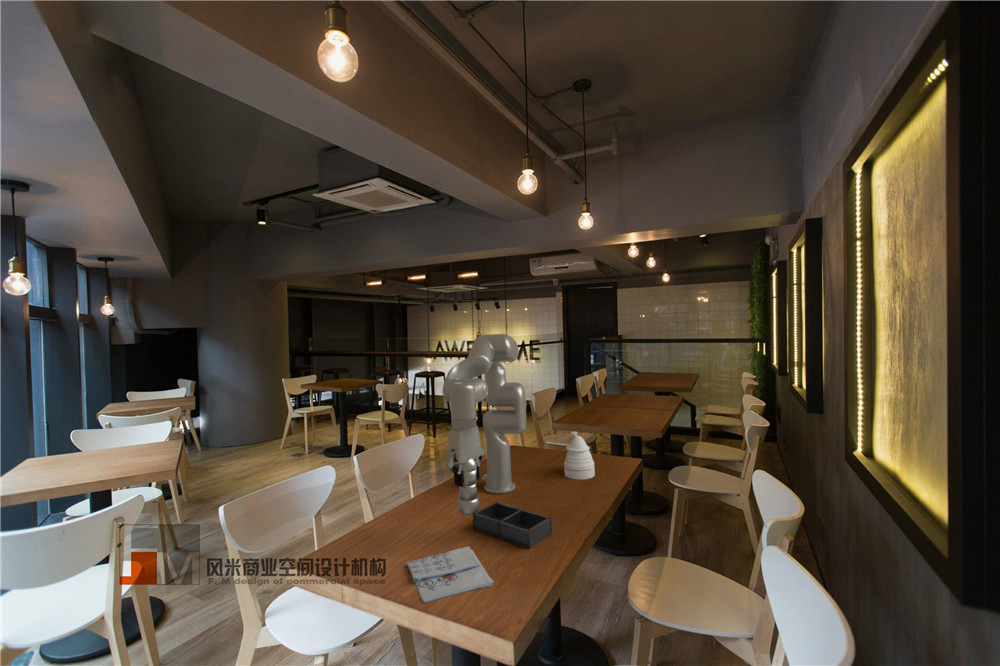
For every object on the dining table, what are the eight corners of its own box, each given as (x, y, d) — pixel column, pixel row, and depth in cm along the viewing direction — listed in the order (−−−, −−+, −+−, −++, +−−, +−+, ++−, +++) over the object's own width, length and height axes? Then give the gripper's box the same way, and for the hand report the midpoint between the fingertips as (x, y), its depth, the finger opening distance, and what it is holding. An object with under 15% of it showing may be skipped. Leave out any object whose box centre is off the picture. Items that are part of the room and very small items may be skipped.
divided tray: (473, 529, 142) (472, 513, 142) (497, 516, 151) (496, 501, 151) (529, 549, 127) (528, 531, 127) (551, 533, 136) (551, 517, 136)
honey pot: (558, 475, 190) (556, 434, 190) (575, 467, 199) (573, 428, 199) (584, 481, 181) (582, 437, 181) (600, 473, 191) (598, 431, 191)
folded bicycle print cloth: (472, 551, 128) (471, 544, 128) (495, 588, 109) (495, 580, 109) (406, 566, 122) (405, 558, 122) (418, 608, 103) (418, 599, 103)
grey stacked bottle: (482, 509, 136) (479, 445, 135) (474, 519, 130) (471, 451, 129) (463, 507, 138) (460, 444, 138) (454, 516, 132) (451, 450, 131)
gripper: (474, 416, 142) (477, 471, 143) (434, 428, 129) (437, 488, 129) (492, 418, 137) (495, 476, 138) (451, 431, 124) (455, 494, 125)
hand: (467, 481), depth 134 cm, fingers closed on grey stacked bottle, 6 cm apart
